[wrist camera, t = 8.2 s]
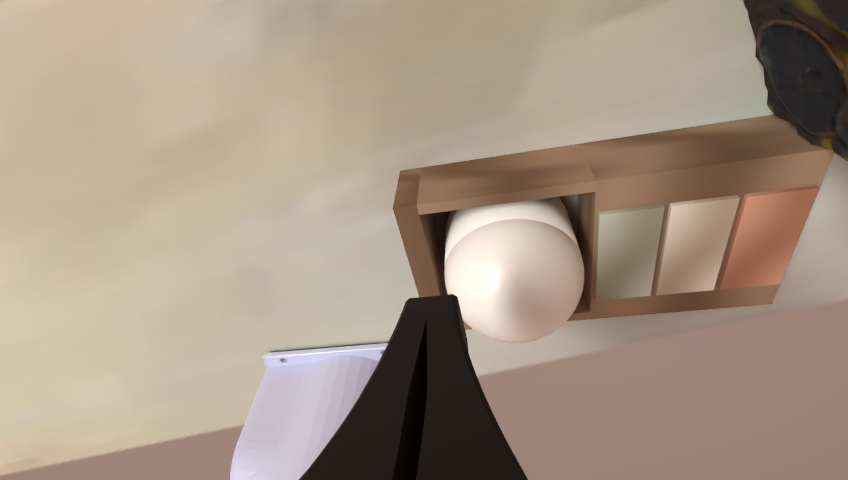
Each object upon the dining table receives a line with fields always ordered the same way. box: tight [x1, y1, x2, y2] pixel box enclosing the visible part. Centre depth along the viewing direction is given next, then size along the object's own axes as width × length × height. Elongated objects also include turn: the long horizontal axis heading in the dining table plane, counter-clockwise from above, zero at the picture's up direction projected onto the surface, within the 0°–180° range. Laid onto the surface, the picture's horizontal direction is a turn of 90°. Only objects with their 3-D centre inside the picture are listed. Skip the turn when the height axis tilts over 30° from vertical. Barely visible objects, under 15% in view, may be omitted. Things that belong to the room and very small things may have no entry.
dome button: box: [444, 197, 584, 343], centre depth 20 cm, size 6×6×6 cm
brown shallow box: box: [393, 115, 834, 330], centre depth 20 cm, size 16×8×3 cm, turn 102°
